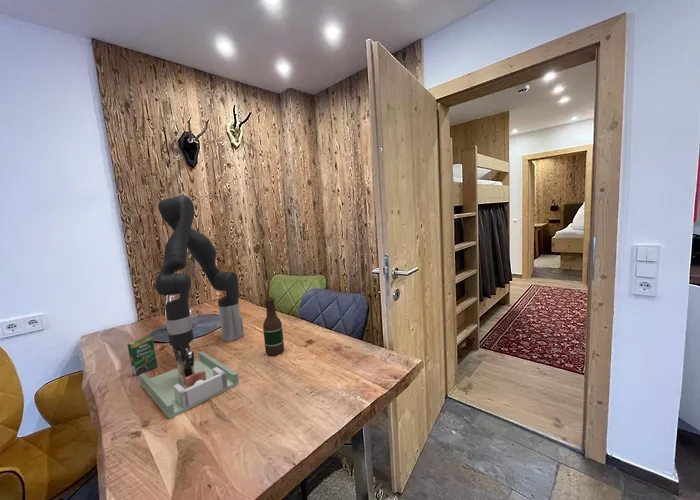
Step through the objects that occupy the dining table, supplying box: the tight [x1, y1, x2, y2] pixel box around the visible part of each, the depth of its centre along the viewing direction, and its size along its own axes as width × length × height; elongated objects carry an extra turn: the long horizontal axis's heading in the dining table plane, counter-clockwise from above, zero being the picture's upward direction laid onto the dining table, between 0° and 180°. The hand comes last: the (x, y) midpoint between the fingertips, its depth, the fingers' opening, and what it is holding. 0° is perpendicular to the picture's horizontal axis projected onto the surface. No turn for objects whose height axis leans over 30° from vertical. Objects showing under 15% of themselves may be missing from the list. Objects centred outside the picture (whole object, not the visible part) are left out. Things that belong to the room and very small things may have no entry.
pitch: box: [139, 350, 240, 420], centre depth 104 cm, size 22×30×4 cm
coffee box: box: [127, 335, 158, 377], centre depth 116 cm, size 8×3×13 cm, turn 150°
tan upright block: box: [176, 361, 206, 389], centre depth 102 cm, size 6×12×7 cm, turn 49°
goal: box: [173, 367, 228, 409], centre depth 97 cm, size 14×7×5 cm, turn 139°
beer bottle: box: [262, 297, 285, 357], centre depth 124 cm, size 8×8×24 cm
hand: (186, 374), depth 105 cm, fingers closed on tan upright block, 4 cm apart
